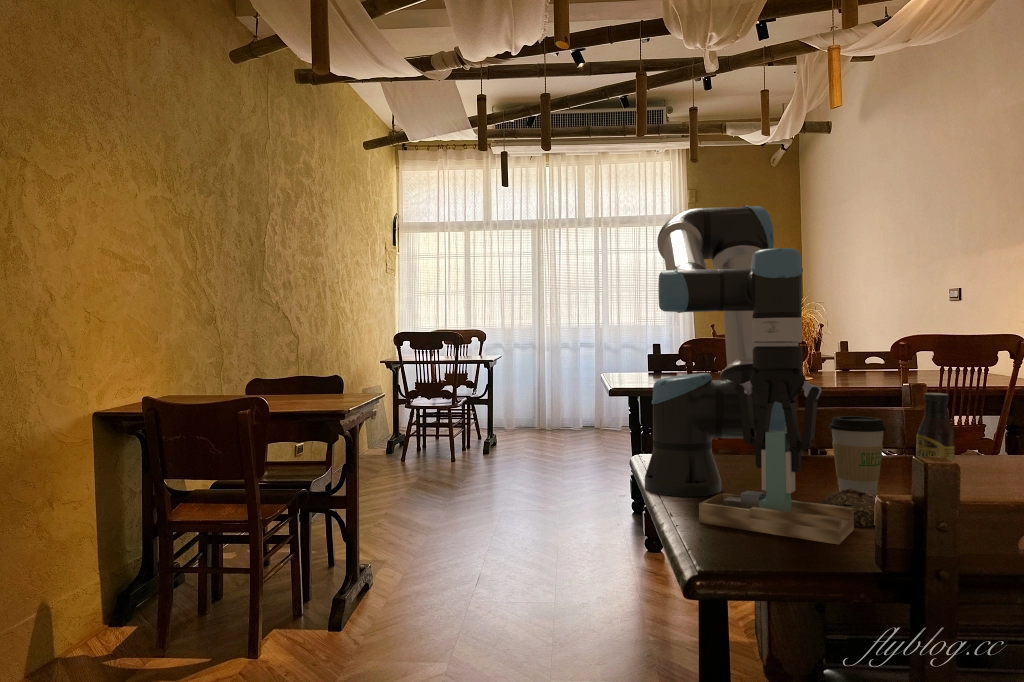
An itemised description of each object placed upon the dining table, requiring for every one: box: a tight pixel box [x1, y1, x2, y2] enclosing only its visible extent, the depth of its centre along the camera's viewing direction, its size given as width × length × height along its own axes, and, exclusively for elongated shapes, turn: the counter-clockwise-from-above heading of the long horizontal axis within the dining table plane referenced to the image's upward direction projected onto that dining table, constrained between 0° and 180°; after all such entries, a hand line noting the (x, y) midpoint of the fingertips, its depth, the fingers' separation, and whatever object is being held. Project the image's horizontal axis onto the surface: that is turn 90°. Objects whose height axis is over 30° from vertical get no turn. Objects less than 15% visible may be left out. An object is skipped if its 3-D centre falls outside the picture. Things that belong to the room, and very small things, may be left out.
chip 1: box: [723, 497, 741, 508], centre depth 117 cm, size 3×3×3 cm
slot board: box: [698, 492, 855, 545], centre depth 114 cm, size 22×10×4 cm, turn 53°
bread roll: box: [818, 489, 878, 528], centre depth 119 cm, size 13×12×5 cm
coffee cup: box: [828, 415, 887, 495], centre depth 134 cm, size 10×10×15 cm
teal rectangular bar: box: [759, 430, 793, 512], centre depth 113 cm, size 4×4×13 cm
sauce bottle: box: [915, 392, 956, 462], centre depth 133 cm, size 6×6×20 cm
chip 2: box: [740, 490, 766, 509], centre depth 116 cm, size 3×3×3 cm
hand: (778, 489), depth 113 cm, fingers closed on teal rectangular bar, 3 cm apart
